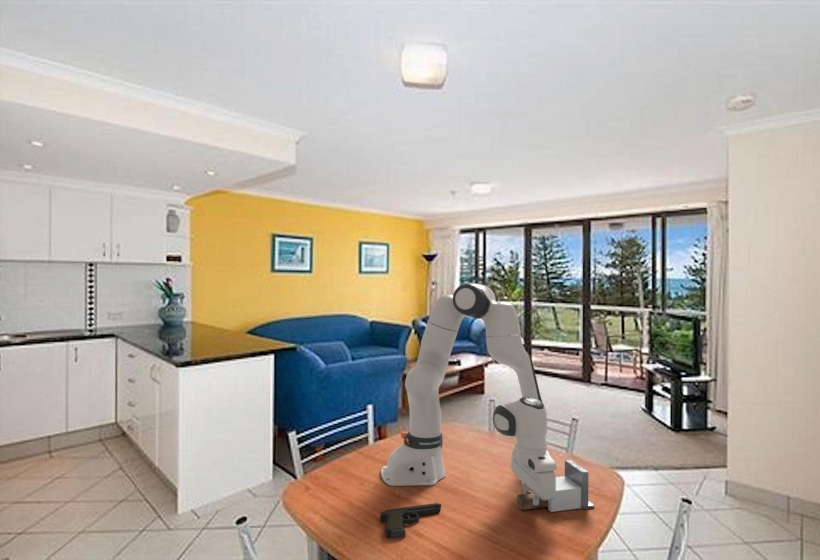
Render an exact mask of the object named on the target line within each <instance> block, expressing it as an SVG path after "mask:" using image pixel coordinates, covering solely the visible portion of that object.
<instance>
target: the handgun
mask: <svg viewBox="0 0 820 560" xmlns="http://www.w3.org/2000/svg"><path fill="white" fill-rule="evenodd" d="M441 509H442V503H438V502H435V503H427V504H420V505H418V504H417V505H413V506H405V507H397V508H390V509H389V508H388V509H384V510H383V511H381V512H380V515H379V521H380V522H381V523H386V524H385V529H384V534H385V537H386V538H387V539H391V540H395V539H400V538H401V539H403V538H406V530H405V528H404V525H410V524H411V525H412V524H416V523H418V522H420V517H422V516H429V515H436V513H440V512H441Z"/></svg>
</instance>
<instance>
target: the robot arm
mask: <svg viewBox="0 0 820 560" xmlns="http://www.w3.org/2000/svg"><path fill="white" fill-rule="evenodd" d="M465 317H471V318H475V319H481V320H482V321H483V323H484V327H485V338H486V339H485V341H486V347H487V352H488V354H489V356H490V357H491V358H492V359H493V360H494V361H496V362H497V363H499V364H501V365H504V366H507V367H509V368H510V369H512V370H513V371H514V372H515V374H516V376H517V380H518V384H519V389H520V393H521V398H519V399H518V400H516V401H513V402H507V403H502V404H499V405H497V406H495V409H494V410H493V415H492V423H493V426H494V428H495V429H496V431H497V432H498V433H499V434H501V435H503V436H507V437H514V438H516V442H515V443H516V444H515V445H514V448H513V449H514V450H512V452H511V461H510V469H511V472H512V473H513V474H514V475H515V476H516V477H517V478H518V479H520V480H521V485H522V489H523V494H528V493H533V494H534V495H533V497H531V503H532V504H533V505H539V499H540V498H541V499H542V500H544V501H545V500H552V499H554V497H555V492H556V477H557V476H556V474H555V471H557V463H556V462H555V460H554V458H553V457H552V456H551V453H550V452H549V450H548V443H547V437H546V435H547V433H548V415H547V410H546V406H545V404H544V402H543V400H542V397H541V393H540V389H539V384H538V380H537V375H536V371H535V367H534V363H533V360H532V357H531V354H530V353H529V352H528V351H526V349H525V347H524V344H523V340H522V335H521V334H522V333H521V326H520V322H519V317H518V313H517V310H516V308H515V306H514V305H513V303H512V304H511V303H510V302H508V301H498V295H497V294H496V292H495V291H494V289H493V288H492V287H490V286H488V285H485V284H482V283H479V282H477V283H473V282H467V283H463V284H461V285H459V286H458V287H457V288H456V289H455V290H454V292H453V294H450V293H448V294H447V293H446V294H445V293H444V294H442V295H440V296H439V297H438V299H437V300H436V301H435V303H434V305H433V308H432V310H431V312H430V315H429V316H428V320H427V323H426V326H425V328H424V332H423V335H422V338H421V341H420V349H419V353H418V356H417V360H416V363H415V365H414V366H413V367H411V368H410V369H409V371H408V372H407V374H406V378H405V382H404V385H405V390H406V393H407V401H408V407H409V430H408V432H407V433H406V431H401V432H400V433H399V434H400V436H401V438H402V439H403V443H402V444H401V445H400V446H398V447H397V448H396V449H395V450H393V451H391V453H389V457H388V459H387V465H383V466H382V467H381V469H380V476H381V479H382V481H383V482H384V483H385V484H387V485H388V486H392V487H404V486H434V485H436V484H437V483H438V481H440V480H442V479H443V478H444V477H445V476H446V470H445V466H444V459H443V451H442V449H443V444H444V442H443V440H444V439H443V432H442V409H441V404H440V393H439V390H440V386H441V385H442V383H443V381H444V379H445V376H446V372H447V369H448V365H449V361H450V358H451V354H452V350H453V347H454V345H455V343H456V342H455V341H456V339H457V335H458V332H459V329H460V326H461V323H462V322H463V320H464V318H465Z"/></svg>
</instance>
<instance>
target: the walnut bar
mask: <svg viewBox="0 0 820 560" xmlns="http://www.w3.org/2000/svg"><path fill="white" fill-rule="evenodd" d="M533 495H534V494H533V492H531V493H528V494H524V493H520V494H517V496H516V499H517V500H516V501H517V503H516V506H518V507H519V508H520V510H523V511H524V510H532V509H540V508H548V500H545V501H544V500H542V499H541V498H540V499H539V505H533V504H532V503H531V497H533Z"/></svg>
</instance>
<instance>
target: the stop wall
mask: <svg viewBox="0 0 820 560" xmlns="http://www.w3.org/2000/svg"><path fill="white" fill-rule="evenodd" d="M564 476H566V477H568V478H569V479H570V480H572V481H573V482H574V483H576V484H577V485H578V486H580V487H581V508H580V509H581V510H582V511H583V510H588V509H590V510H591V509H594V508H595V504H593V502H591V501H589V471H588V470H587V469H585V468H583V466H581V465H579V464H578V463H576V461H575V462H574V461H573V460H572V459H565V460H564Z"/></svg>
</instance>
